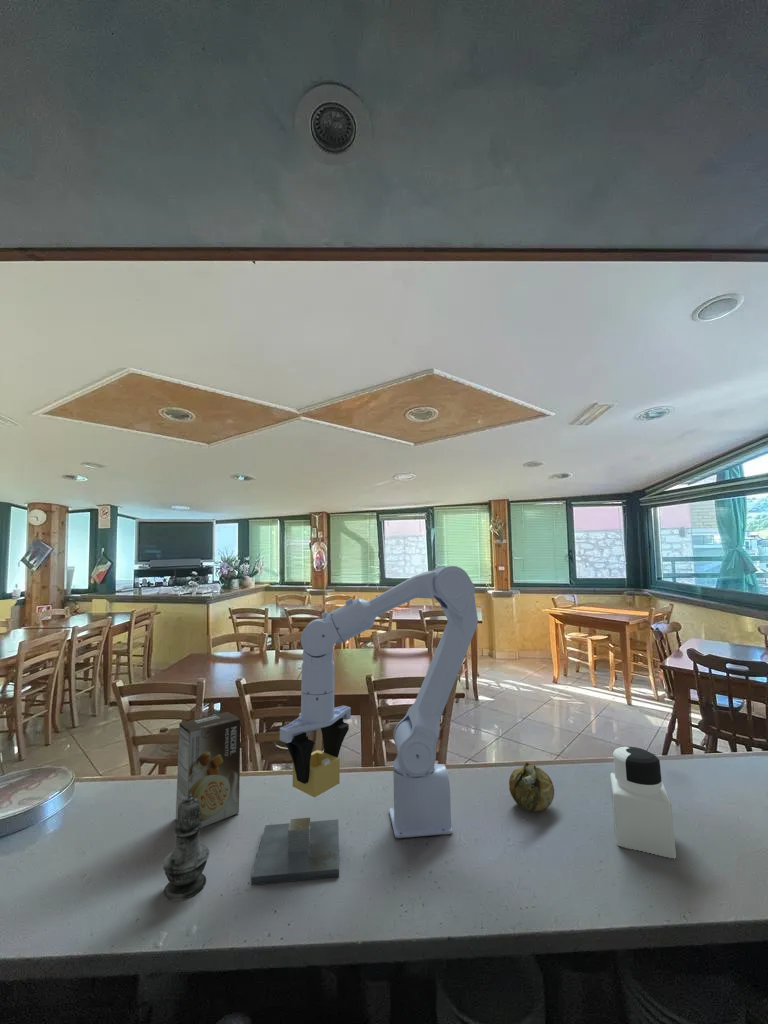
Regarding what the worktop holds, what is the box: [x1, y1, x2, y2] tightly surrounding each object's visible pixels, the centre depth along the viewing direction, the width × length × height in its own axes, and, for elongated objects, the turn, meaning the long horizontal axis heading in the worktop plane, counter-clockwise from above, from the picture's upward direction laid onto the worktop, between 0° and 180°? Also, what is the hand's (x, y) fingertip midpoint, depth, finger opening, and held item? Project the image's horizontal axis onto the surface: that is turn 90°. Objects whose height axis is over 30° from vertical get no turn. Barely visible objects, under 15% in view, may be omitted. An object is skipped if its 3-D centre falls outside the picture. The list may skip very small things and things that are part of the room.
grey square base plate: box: [250, 817, 340, 886], centre depth 65 cm, size 12×12×4 cm
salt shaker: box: [162, 792, 211, 902], centre depth 59 cm, size 6×6×12 cm
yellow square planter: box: [292, 749, 341, 798], centre depth 72 cm, size 6×6×5 cm
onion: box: [508, 761, 555, 813], centre depth 77 cm, size 8×8×8 cm
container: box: [609, 746, 677, 860], centre depth 68 cm, size 8×8×13 cm
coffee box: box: [175, 711, 242, 829], centre depth 75 cm, size 9×6×16 cm
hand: (316, 774), depth 72 cm, fingers closed on yellow square planter, 6 cm apart
